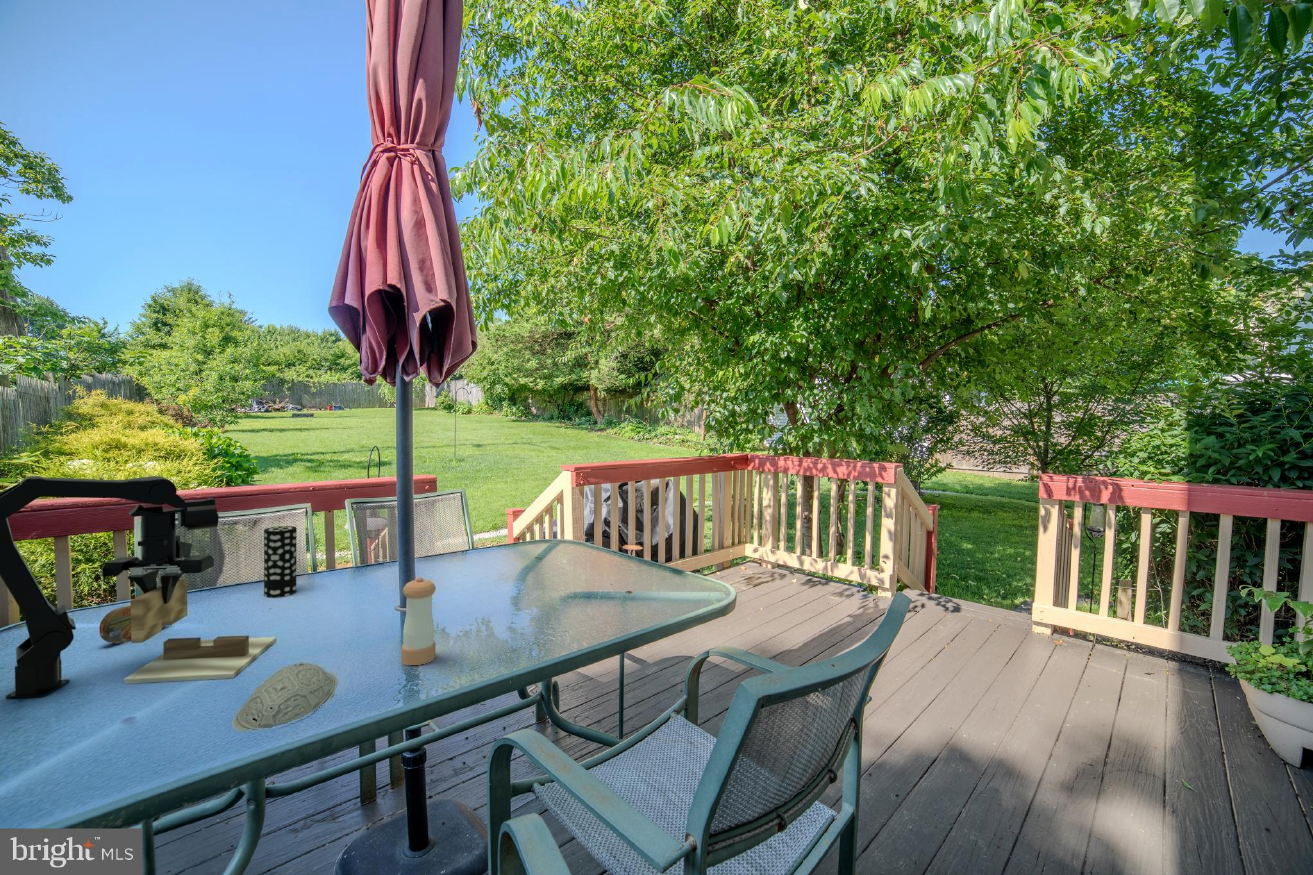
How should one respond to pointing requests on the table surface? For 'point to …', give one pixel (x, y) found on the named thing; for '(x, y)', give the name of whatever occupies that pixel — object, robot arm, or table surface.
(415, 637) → the pepper shaker
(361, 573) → the table surface
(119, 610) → the tin
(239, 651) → the wooden base with bar
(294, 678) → the turtle shell
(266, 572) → the white-spotted black cylinder
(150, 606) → the oak plate
